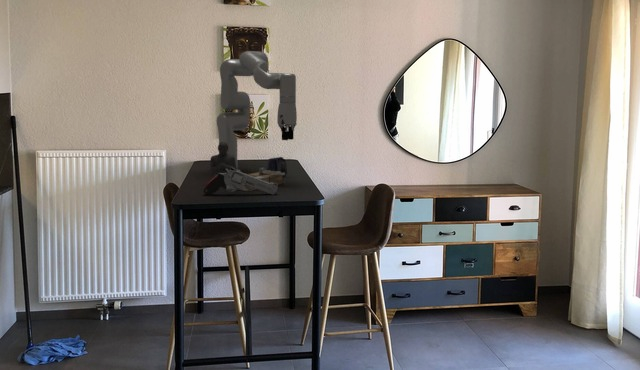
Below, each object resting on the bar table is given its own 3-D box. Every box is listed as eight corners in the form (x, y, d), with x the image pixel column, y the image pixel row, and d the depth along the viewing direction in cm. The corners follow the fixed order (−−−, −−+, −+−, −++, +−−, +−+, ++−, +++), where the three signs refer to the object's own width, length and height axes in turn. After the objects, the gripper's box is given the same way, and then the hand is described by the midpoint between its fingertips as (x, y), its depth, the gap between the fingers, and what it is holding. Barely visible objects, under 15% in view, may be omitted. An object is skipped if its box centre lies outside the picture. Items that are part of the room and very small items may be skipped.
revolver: (203, 191, 295) (215, 159, 293) (266, 215, 299) (279, 184, 297) (202, 192, 291) (215, 160, 289) (266, 217, 295) (279, 185, 294)
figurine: (209, 185, 318) (208, 142, 315) (211, 183, 325) (210, 141, 322) (235, 185, 318) (235, 142, 315) (237, 183, 326) (236, 141, 323)
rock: (274, 179, 340) (274, 158, 339) (266, 178, 344) (266, 157, 342) (288, 177, 348) (288, 156, 347) (280, 176, 351) (280, 156, 350)
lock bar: (257, 173, 324) (257, 161, 323) (261, 172, 326) (261, 160, 326) (284, 176, 316) (284, 163, 315) (287, 175, 319) (287, 162, 318)
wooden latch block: (224, 188, 310) (224, 177, 309) (258, 181, 332) (258, 171, 332) (249, 191, 303) (249, 180, 302) (282, 183, 325) (282, 173, 324)
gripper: (290, 99, 327) (290, 138, 330) (270, 100, 313) (270, 140, 315) (304, 100, 323) (303, 138, 326) (284, 101, 309) (284, 141, 312)
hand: (287, 139), depth 321 cm, fingers open, 3 cm apart
